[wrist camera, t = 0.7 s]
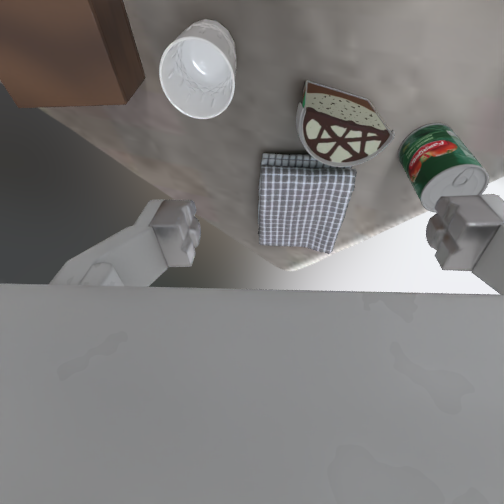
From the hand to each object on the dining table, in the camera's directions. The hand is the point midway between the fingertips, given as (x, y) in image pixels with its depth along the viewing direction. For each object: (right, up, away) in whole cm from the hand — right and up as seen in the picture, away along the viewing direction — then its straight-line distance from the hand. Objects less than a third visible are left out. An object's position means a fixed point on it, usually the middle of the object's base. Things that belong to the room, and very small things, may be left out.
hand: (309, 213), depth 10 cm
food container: (+9, +19, +32) cm, 38 cm away
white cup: (-7, +24, +27) cm, 37 cm away
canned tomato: (+25, +15, +36) cm, 46 cm away
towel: (+7, +9, +44) cm, 45 cm away
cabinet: (-23, +27, +25) cm, 43 cm away
